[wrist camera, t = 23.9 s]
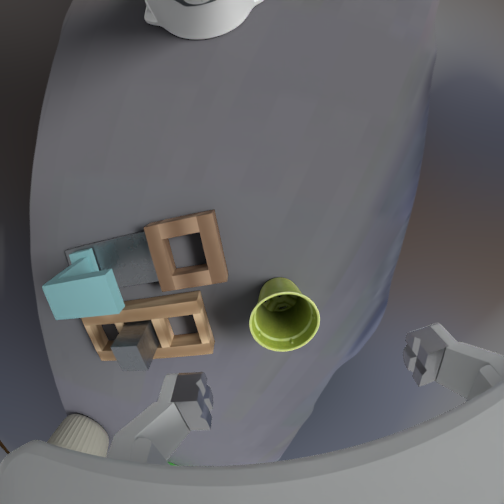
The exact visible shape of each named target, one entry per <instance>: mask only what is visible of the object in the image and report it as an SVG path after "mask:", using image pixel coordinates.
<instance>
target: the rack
mask: <svg viewBox="0 0 504 504" xmlns="http://www.w3.org/2000/svg"><path fill="white" fill-rule="evenodd" d="M123 302H124V304H125V307H124V308H123V309H122V311H121V312H120V313H119V314H113V315H104V316H94V317H84V318H81V319H82V322H83V324H84V326H85V328H86V330H87V332H88V335H89V337H90V339H91V341H92V343H93V345H94V347H95V349H96V351H97V353H98V355H99V357H100V358H101V360H102V361H111V360H116V358H115V356H114V354H113V352H112V350H111V348H110V347H111V346H112V344H113V342H114V341H115V340H112V341H109V340H108V338H107V336H106V334H105V332H104V330H103V327H102V324H113V323H115V325H116V328H117V330H118V332H119V333H120V331H121V330H122V328H123V327H124V325H125V324H126V322H134V321H143V320H151V321H152V323H153V326H154V329H155V331H156V334H157V336H158V339H159V341H160V343H159V345H158V347H157V350H156V352H155V354H154V357H153V359H157V358H171V357H183V356H194V355H204V354H213V349H214V342H215V341H214V337H213V334H212V331H211V327H210V324H209V321H208V317H207V314H206V310H205V307H204V303H203V300H202V296H201V292H200V290H199V291H192V292H186V293H179V294H172V295H165V296H158V297H151V298H144V299H137V300H130V301H123ZM192 314H193V317H194V320H195V323H196V327H197V330H198V333H191V334H182V335H174V333H173V331H172V328H171V325H170V322H169V320H168V318H169V317H177V316H185V315H192Z"/></svg>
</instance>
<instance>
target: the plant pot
mask: <svg viewBox="0 0 504 504" xmlns="http://www.w3.org/2000/svg"><path fill="white" fill-rule="evenodd" d="M278 295H281V297H278ZM264 301H267V303H266V302H264ZM284 306H287V307H286V308H283V309H279V307H284ZM319 324H320V315H319V311H318V309H317V307H316V305H315V304H314V303H313V301H312V300H311V299H309V298H308V297H306V296H305V295H303V294H302V293H301V292H300V291H299V289H298V288H297V286H296V285H295V284H294V283H293V282H292V281H290V280H288V279H286V278H274V279H271V280H269V281H267V282H266V283H265V284H264V286H263V287H262V289H261V291H260V294H259V299H258V304H257V305H256V306H255V307H254V309H253V310H252V312H251V315H250V319H249V327H250V332H251V334H252V336H253V338H254V339H255V340H256V341H257V342H258V343H259V344H260V345H261V346H263V347H265V348H267V349H269V350H273V351H281V352H282V351H291V350H295V349H298V348H300V347H302V346H303V345H305V344H306V343H308V342H309V341H310V340H311V339H312V338H313V337H314V335H315V334H316V332H317V330H318V328H319Z"/></svg>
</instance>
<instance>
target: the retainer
mask: <svg viewBox="0 0 504 504" xmlns="http://www.w3.org/2000/svg"><path fill="white" fill-rule="evenodd" d="M69 257H70V260H71V263H72V264H71V265H70V266H69V267H67V268H66V269H65V270H63V271H62V272H60V273H59V274H58V275H56V276H55V277H54V278H52V279H51V280H50V281H48V282H47V283H46V284H44V285H43V286H42V288H43V291H44V293H45V296H46V298H47V301H48V303H49V305H50V308H51V310H52V312H53V315H54V317H55V319H56V320H61V319H73V318H84V317H94V316H104V315H113V314H119V313H120V312H121V311H122V309H123V308H124V307H125V304H124V302H123V299H122V296H121V293H120V291H119V288H118V285H117V282H116V279H115V276H114V273H113V270H112V269H107V270H101V271H99V268H98V265H97V262H96V259H95V256H94V253H93V250H92V248H89V249H85V250H81V251H77V252H72V253H71V254H69Z"/></svg>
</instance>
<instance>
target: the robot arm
mask: <svg viewBox="0 0 504 504" xmlns="http://www.w3.org/2000/svg"><path fill="white" fill-rule="evenodd" d="M262 1H264V0H145V2H146V10H145V15H144V19H145V21H146V22H147V23H148V24H152V25H157V26H161V27H163V28H165V29H166V30H167V31H169V32H170V33H172V34H174V35H176V36H178V37H182V38H186V39H207V38H213V37H216V36H220V35H222V34H225V33H227V32H229V31H231V30H233V29H234V28H236V27H237V26H239V25H240V24H241V23H242V22H243V21H244V20H245V19H246V18H247V16H248V15H249V13H250V11H251V10H252V8H253V7H254V6H256V5H258V4H259V3H261V2H262ZM405 341H406V342H407V346H406V347H405V348H404V352H403V359H404V363H405V365H406V367H407V369H408V370H410V371H412V372H413V378H414V380H415V382H416V383H417V384H418V386H419V387H420V386H423V385H426V384H428V383H431V382H433V381H436V382H437V383H439V384H441V385H442V386H444V387H446V388H448V389H450V390H451V391H453V392H455V393H457V394H459V395H460V396H462V397H464V398H466V399H467V400H466V402H465V403H463V404H461V405H459V406H457V407H455V408H453V409H451V410H449V411H447V412H445V413H443V414H441V415H438V416H436V417H434V418H432V419H430V420H427V421H425V422H423V423H420V424H418V425H415V426H413V427H410V428H408V429H405V430H403V431H400V432H397V433H394V434H392V435H389V436H386V437H383V438H380V439H377V440H374V441H371V442H367V443H364V444H360V445H357V446H353V447H349V448H345V449H341V450H337V451H333V452H329V453H324V454H320V455H314V456H309V457H304V458H298V459H291V460H285V461H277V462H269V463H260V464H249V465H233V466H175V465H170V464H169V463H168V462H167V460H168V458H169V457H170V456H171V455H172V454H173V452H174V451H175V450H176V449H177V448H178V446H179V445H180V444H181V443H182V441H183V440H184V439H185V438H186V437H187V435H188V434H189V433H190V431H199V430H211V424H212V415H211V413H210V411H211V410H212V409H213V394H212V390H211V388H210V386H208V385H207V377H206V375H205V373H204V372H195V373H179V374H167V375H166V376H165V379H164V382H163V385H162V388H161V391H160V395H159V398H158V401H157V403H153V404H152V405H150V406H149V407H148V408H147V409H146V410H144V411H143V412H142V413H141V414H140V415H138V416H137V417H136V418H135V419H133V420H132V421H131V422H130V423H129V424H127V425H126V426H125V427H124V428H122V429H121V430H120V431H119V432H117V433H116V434H115V435H114V438H113V441H112V443H111V446H110V449H109V452H108V454H107V457H101V456H96V455H91V454H87V453H82V452H78V451H74V450H70V449H66V448H63V447H59V446H56V445H53V444H50V443H46V442H44V441H40V440H33V441H31V442H29V443H27V444H25V445H23V446H21V447H19V448H18V449H16V450H14V451H13V452H11V453H9V454H8V455H7V456H6V457H5V458H4V460H3V461H2V463H1V464H0V504H504V356H503V355H501V354H498V353H495V352H491V351H488V350H485V349H482V348H479V347H476V346H473V345H469V344H466V343H463V342H457V341H456V340H455V339H454V338H453V337H452V336H451V335H450V334H449V333H448V331H447V330H446V329H445V328H444V327H443V326H442V325H441V324H440V323H434V324H432V325H429V326H427V327H424V328H421V329H418V330H415V331H411V332H409V333H407V335H406V340H405Z"/></svg>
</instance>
